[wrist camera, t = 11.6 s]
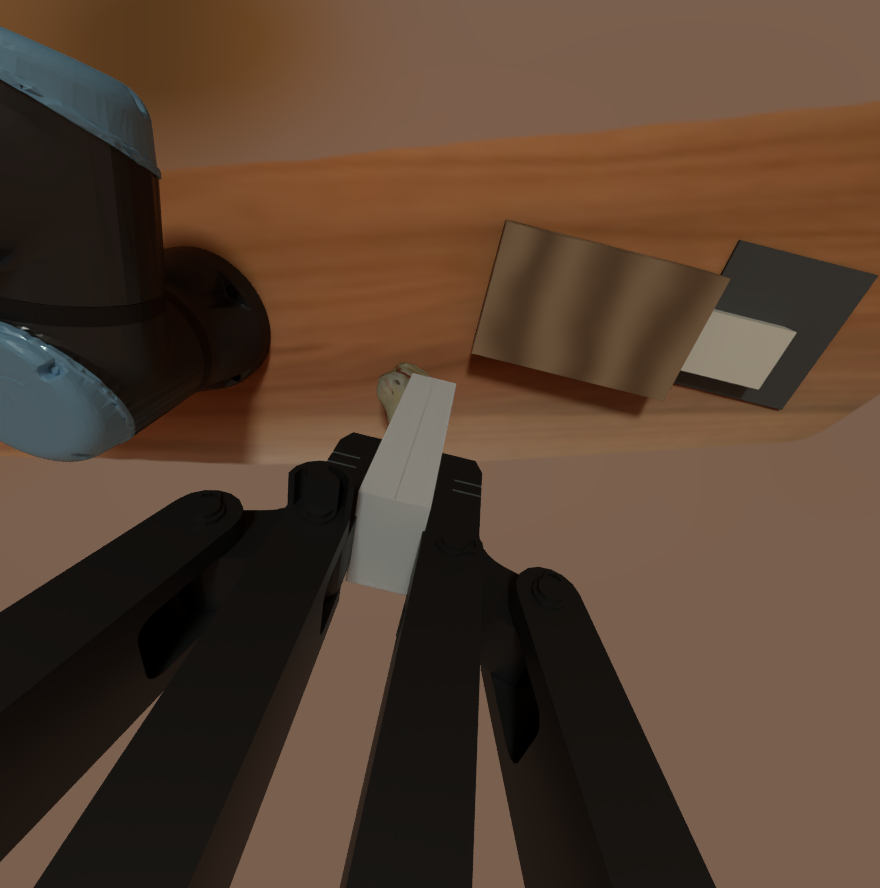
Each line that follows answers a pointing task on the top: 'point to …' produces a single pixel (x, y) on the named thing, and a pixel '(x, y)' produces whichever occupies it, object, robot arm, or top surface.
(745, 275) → the mat
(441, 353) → the top surface
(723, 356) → the block
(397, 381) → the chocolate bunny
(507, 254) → the brown wooden flat slab
